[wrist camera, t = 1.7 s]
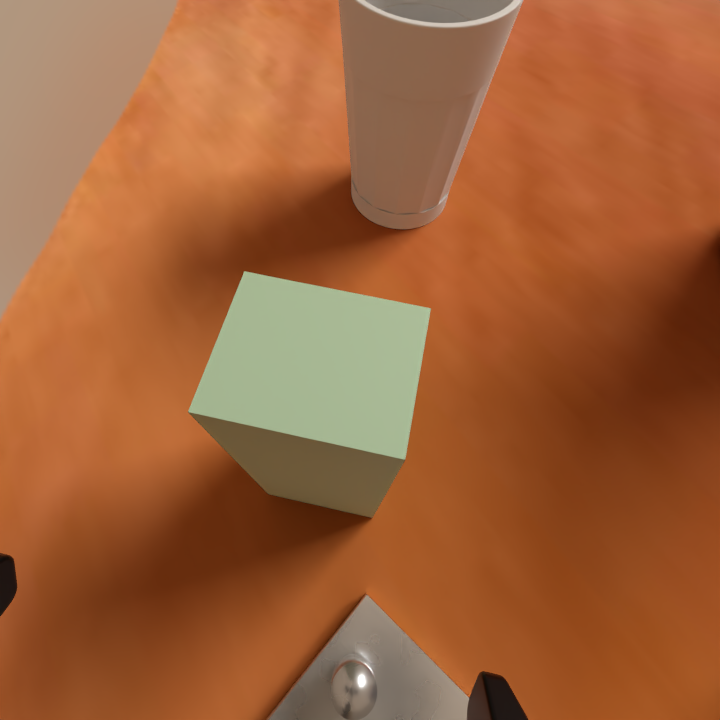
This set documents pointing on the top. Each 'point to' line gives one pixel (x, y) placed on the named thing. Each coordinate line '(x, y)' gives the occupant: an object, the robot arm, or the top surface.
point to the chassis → (372, 677)
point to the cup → (415, 97)
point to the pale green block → (314, 390)
